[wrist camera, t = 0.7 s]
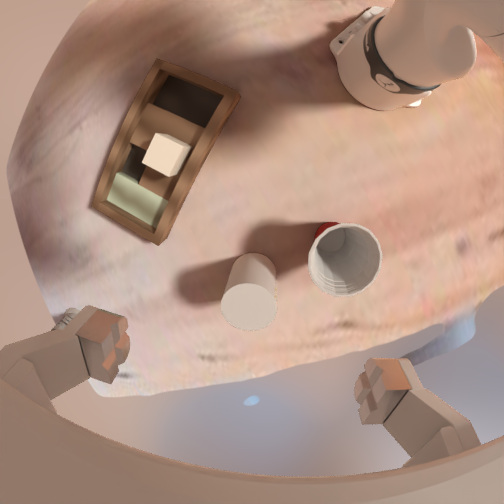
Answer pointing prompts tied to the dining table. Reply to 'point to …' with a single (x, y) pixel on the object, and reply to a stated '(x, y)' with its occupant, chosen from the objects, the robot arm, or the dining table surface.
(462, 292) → the dining table surface
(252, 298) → the beige cylinder
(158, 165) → the block
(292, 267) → the dining table surface
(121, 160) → the box
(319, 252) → the plastic cup
